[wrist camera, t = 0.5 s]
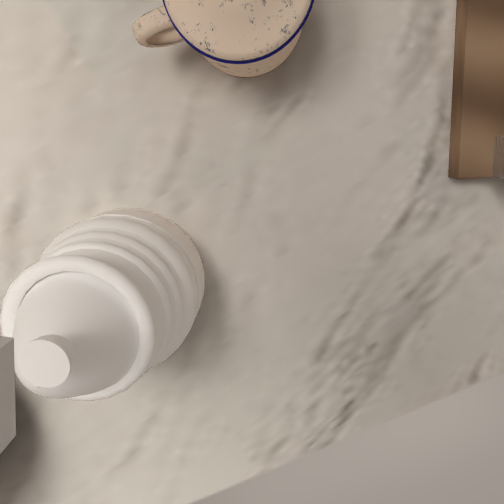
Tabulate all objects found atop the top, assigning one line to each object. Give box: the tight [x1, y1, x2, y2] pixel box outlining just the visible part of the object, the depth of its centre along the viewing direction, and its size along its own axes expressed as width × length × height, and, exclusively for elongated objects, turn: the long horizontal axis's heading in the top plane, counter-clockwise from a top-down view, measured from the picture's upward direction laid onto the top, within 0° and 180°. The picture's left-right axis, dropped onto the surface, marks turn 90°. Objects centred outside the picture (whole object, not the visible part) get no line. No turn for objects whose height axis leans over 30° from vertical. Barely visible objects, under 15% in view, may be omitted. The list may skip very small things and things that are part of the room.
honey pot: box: [0, 208, 205, 401], centre depth 31 cm, size 13×13×18 cm
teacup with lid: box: [133, 0, 314, 77], centre depth 28 cm, size 12×9×12 cm
